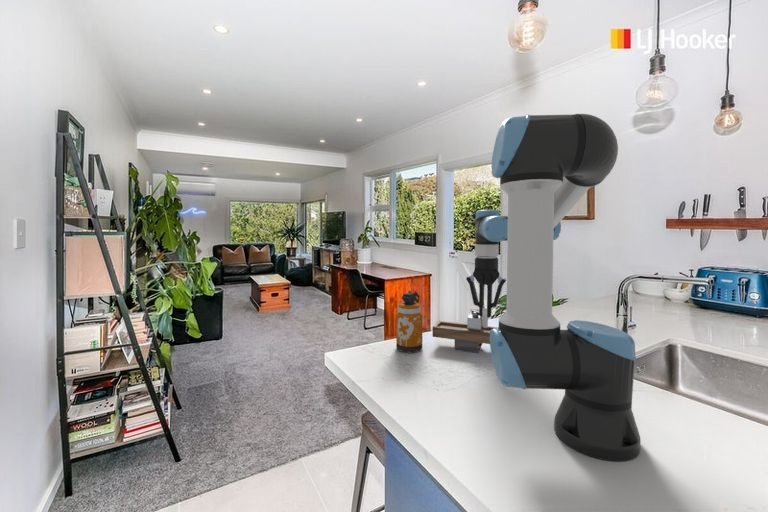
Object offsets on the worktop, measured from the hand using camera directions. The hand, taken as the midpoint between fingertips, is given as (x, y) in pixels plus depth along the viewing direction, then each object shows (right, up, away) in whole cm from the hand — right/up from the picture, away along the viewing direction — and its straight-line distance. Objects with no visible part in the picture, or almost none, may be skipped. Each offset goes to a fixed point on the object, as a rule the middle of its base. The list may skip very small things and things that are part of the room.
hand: (485, 326), depth 122 cm
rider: (-3, -2, +1) cm, 4 cm away
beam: (-5, -8, +3) cm, 10 cm away
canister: (-25, -9, +4) cm, 27 cm away
